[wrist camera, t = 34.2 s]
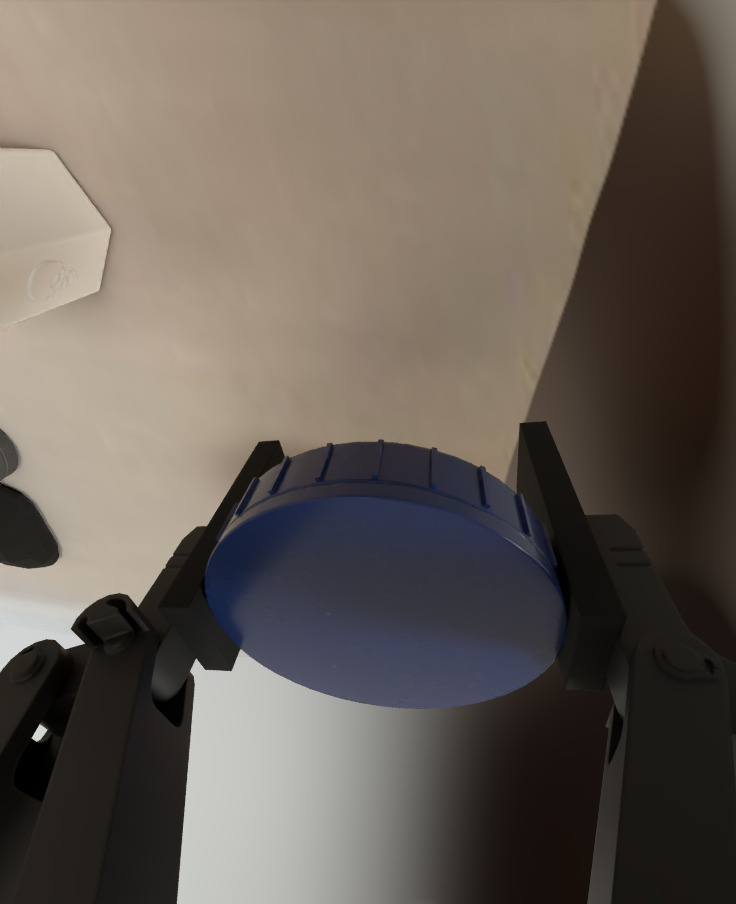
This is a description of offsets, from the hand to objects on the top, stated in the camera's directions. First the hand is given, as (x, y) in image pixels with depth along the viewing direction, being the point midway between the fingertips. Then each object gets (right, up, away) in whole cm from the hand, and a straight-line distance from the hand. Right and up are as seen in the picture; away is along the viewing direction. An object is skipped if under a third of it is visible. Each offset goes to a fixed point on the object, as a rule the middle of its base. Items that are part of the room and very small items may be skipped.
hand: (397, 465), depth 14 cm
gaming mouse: (-38, -6, +30) cm, 49 cm away
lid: (-1, -3, -5) cm, 6 cm away
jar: (-21, +15, +12) cm, 29 cm away
